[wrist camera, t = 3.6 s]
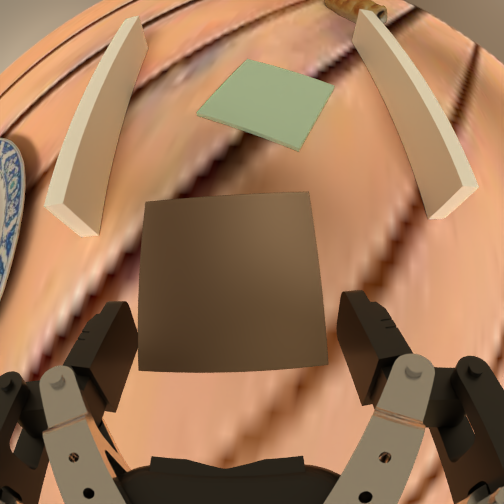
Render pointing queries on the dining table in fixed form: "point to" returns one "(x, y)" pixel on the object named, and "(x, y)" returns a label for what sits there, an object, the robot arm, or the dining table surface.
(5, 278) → the ceramic plate
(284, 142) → the pad
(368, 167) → the dining table surface
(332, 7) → the pastry
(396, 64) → the arena
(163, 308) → the walnut block
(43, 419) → the robot arm
